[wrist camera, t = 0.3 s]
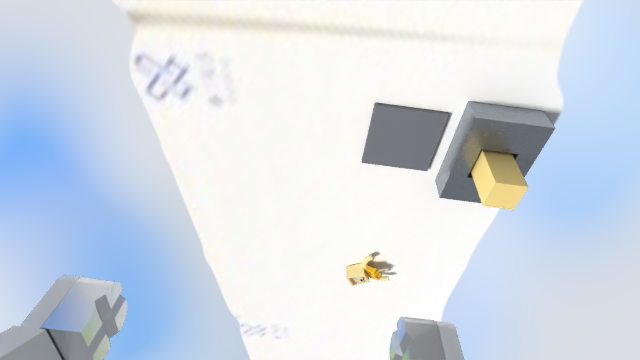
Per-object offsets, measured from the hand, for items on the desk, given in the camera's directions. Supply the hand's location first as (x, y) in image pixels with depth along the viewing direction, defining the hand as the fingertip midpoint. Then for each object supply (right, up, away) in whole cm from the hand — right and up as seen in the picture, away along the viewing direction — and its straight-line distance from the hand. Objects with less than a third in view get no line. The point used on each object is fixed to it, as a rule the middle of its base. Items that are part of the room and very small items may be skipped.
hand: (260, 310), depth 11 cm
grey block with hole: (+25, +8, +42) cm, 50 cm away
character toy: (+12, -13, +64) cm, 67 cm away
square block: (+25, +8, +43) cm, 50 cm away
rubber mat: (+14, +10, +42) cm, 46 cm away
